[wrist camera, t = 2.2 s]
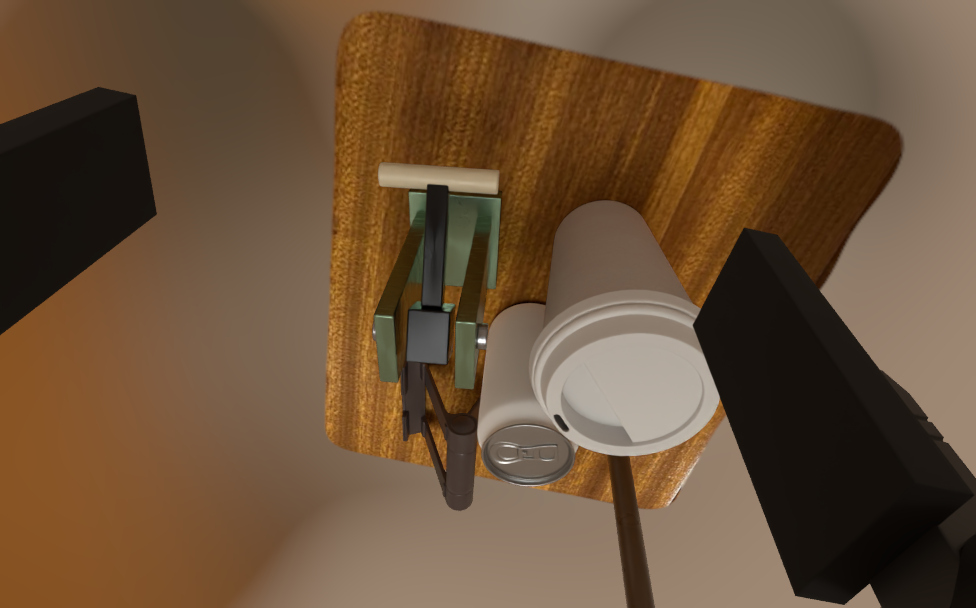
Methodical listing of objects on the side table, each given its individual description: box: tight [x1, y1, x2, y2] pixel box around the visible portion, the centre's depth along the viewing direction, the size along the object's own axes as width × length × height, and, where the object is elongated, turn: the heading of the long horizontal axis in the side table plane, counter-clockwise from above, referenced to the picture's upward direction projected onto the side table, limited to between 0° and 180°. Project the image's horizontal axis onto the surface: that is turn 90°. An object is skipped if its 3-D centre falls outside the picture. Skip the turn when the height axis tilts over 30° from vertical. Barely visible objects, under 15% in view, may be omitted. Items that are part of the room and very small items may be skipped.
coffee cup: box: [529, 200, 720, 456], centre depth 31 cm, size 10×10×15 cm
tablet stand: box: [401, 358, 481, 511], centre depth 43 cm, size 9×8×8 cm
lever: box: [378, 162, 499, 365], centre depth 28 cm, size 10×6×2 cm, turn 177°
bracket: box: [372, 188, 502, 389], centre depth 33 cm, size 7×6×13 cm
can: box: [477, 303, 579, 487], centre depth 38 cm, size 6×6×12 cm
